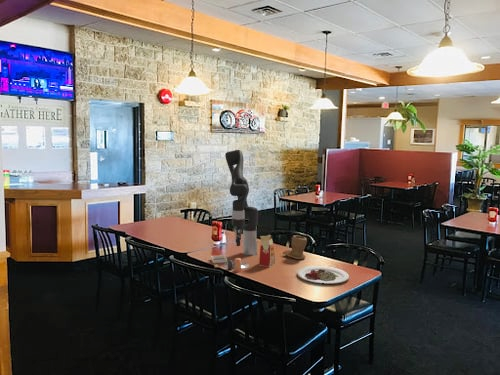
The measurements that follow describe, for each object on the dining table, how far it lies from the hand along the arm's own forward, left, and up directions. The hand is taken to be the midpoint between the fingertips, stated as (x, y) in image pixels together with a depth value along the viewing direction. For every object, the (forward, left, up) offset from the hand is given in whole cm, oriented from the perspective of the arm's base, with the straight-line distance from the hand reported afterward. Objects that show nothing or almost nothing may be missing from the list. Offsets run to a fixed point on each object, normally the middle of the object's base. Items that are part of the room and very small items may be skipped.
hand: (237, 244), depth 244 cm
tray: (+7, -23, -17) cm, 29 cm away
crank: (+1, -8, -17) cm, 18 cm away
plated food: (-47, +19, -18) cm, 54 cm away
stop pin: (0, 0, -17) cm, 17 cm away
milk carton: (-21, -9, -17) cm, 29 cm away
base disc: (+1, -11, -17) cm, 20 cm away
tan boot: (-46, -21, -17) cm, 53 cm away
